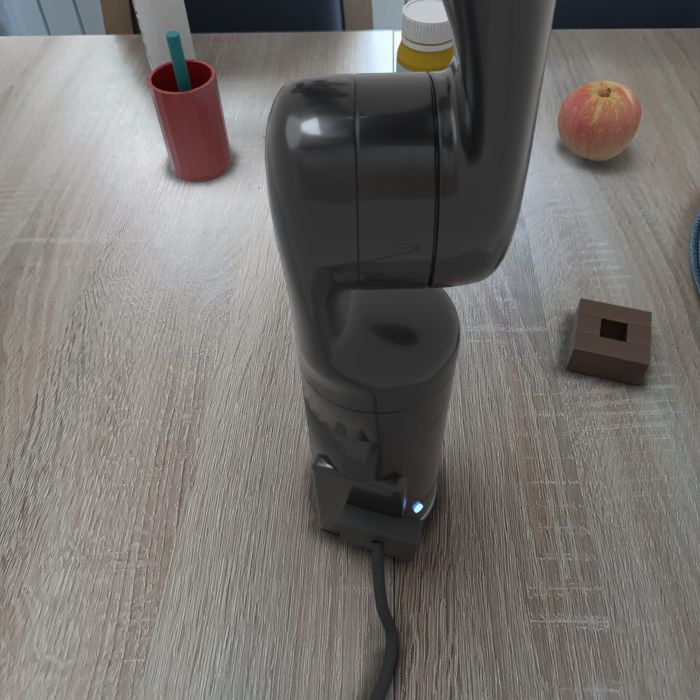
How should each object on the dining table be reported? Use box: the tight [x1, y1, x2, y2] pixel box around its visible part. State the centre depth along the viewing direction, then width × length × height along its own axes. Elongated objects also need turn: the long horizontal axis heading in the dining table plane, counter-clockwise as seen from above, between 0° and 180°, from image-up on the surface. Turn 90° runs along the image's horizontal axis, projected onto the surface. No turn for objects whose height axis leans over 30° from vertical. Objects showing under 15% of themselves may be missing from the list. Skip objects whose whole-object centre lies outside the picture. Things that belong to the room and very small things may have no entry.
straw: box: [166, 31, 192, 92], centre depth 73 cm, size 1×1×15 cm
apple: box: [557, 80, 642, 162], centre depth 75 cm, size 9×9×8 cm
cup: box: [147, 59, 233, 182], centre depth 74 cm, size 7×7×11 cm
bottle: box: [395, 0, 454, 74], centre depth 76 cm, size 7×7×15 cm
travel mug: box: [131, 0, 197, 72], centre depth 84 cm, size 6×7×20 cm
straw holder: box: [565, 297, 653, 386], centre depth 58 cm, size 6×6×3 cm
